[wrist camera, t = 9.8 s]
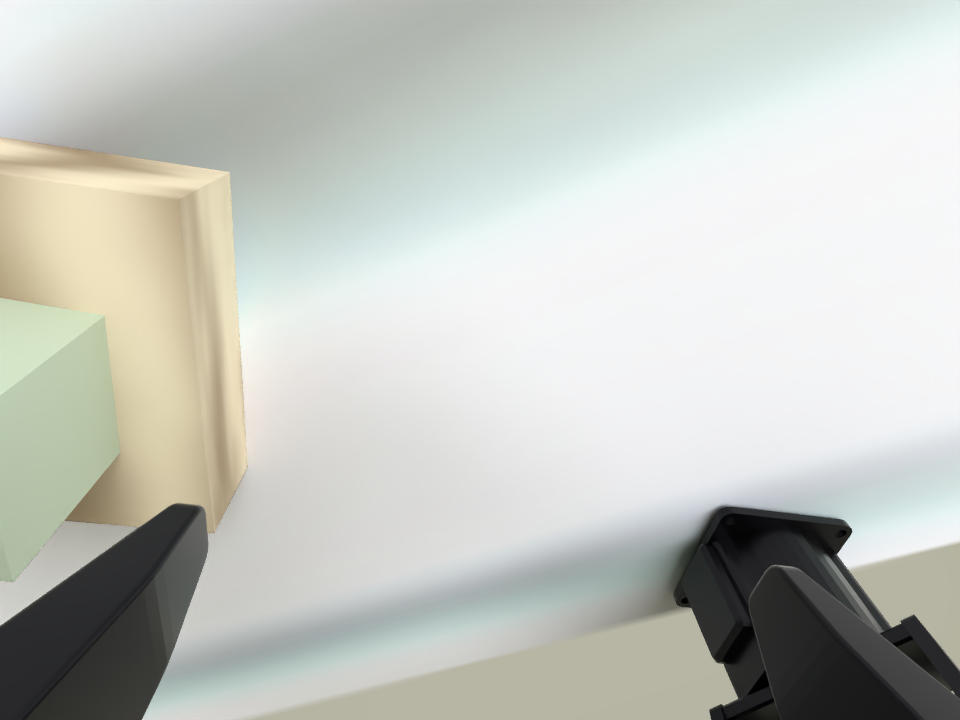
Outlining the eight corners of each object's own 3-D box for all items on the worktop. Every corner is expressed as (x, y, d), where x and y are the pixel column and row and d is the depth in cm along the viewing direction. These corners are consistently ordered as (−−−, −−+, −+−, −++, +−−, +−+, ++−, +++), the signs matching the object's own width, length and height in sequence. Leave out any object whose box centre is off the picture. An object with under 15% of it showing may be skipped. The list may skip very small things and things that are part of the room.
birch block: (234, 169, 17) (178, 199, 14) (250, 460, 23) (214, 533, 20) (-113, 116, 16) (-267, 134, 13) (-5, 435, 22) (-91, 507, 19)
